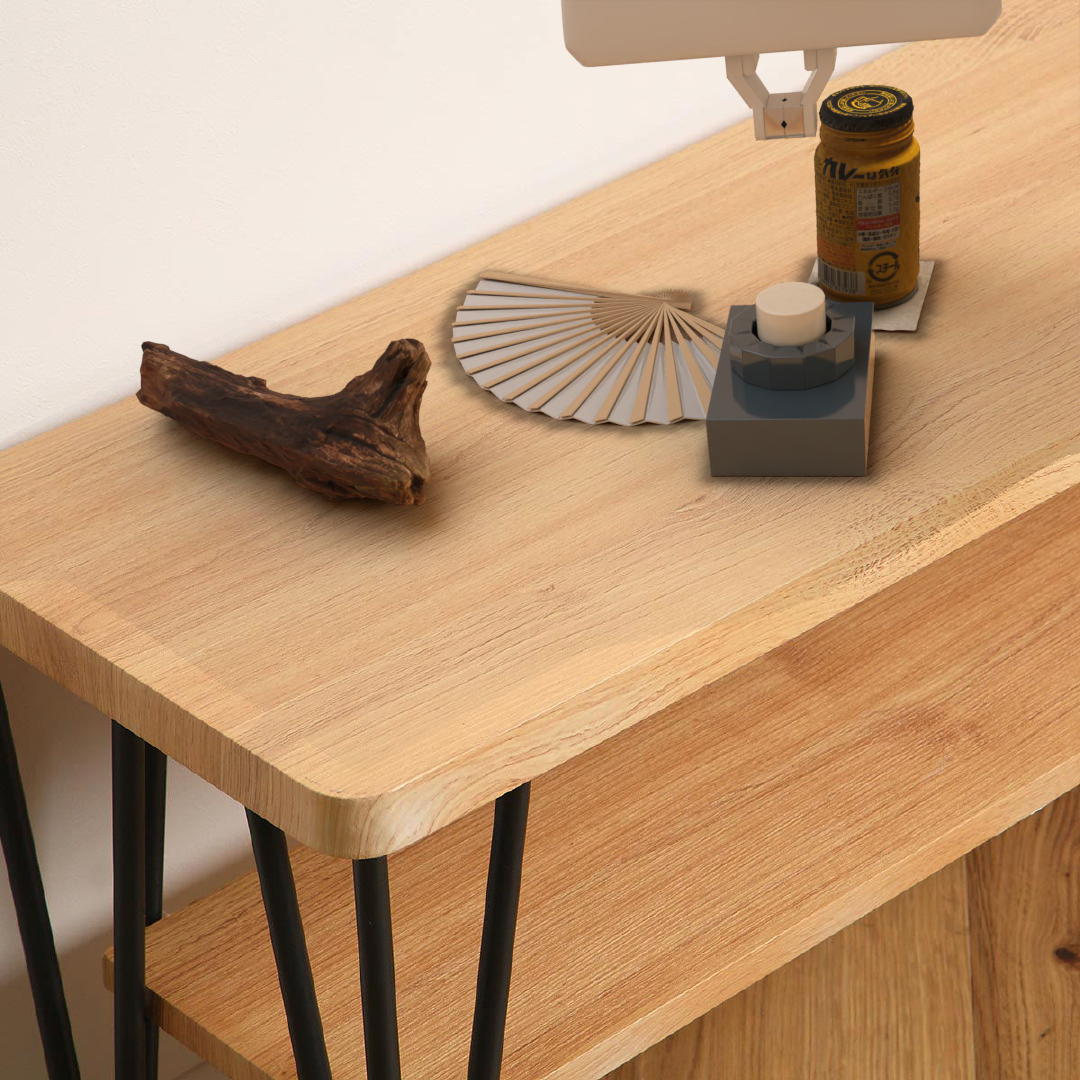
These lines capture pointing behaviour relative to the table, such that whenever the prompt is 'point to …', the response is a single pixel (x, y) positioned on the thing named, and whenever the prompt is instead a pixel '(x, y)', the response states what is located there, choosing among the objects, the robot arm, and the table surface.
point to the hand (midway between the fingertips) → (786, 134)
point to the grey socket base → (793, 398)
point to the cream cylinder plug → (791, 314)
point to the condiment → (870, 205)
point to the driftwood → (307, 421)
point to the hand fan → (586, 351)
